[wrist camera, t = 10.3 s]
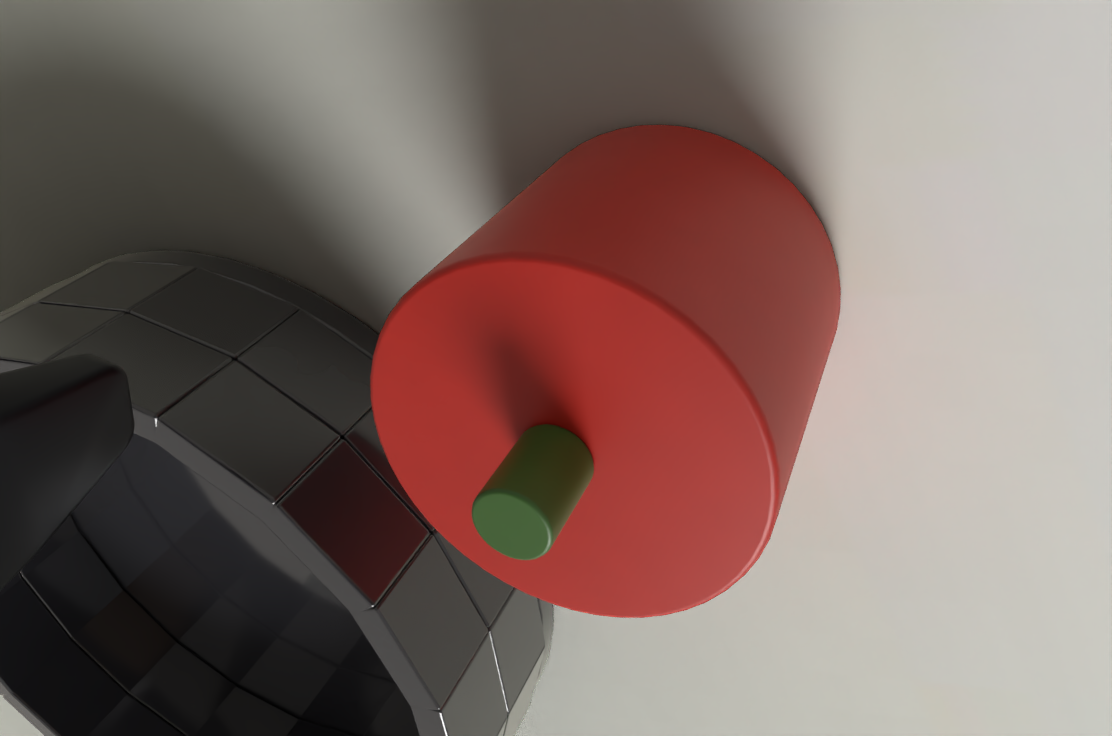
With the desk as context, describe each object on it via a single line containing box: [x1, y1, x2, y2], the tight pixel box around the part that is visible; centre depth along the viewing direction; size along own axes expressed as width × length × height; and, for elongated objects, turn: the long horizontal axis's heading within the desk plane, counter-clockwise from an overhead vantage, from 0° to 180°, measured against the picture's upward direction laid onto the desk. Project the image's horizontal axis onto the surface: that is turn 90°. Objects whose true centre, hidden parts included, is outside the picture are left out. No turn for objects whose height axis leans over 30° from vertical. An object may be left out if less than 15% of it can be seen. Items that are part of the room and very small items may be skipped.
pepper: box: [370, 125, 840, 618], centre depth 11 cm, size 5×5×5 cm
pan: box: [0, 250, 553, 736], centre depth 19 cm, size 13×13×4 cm
